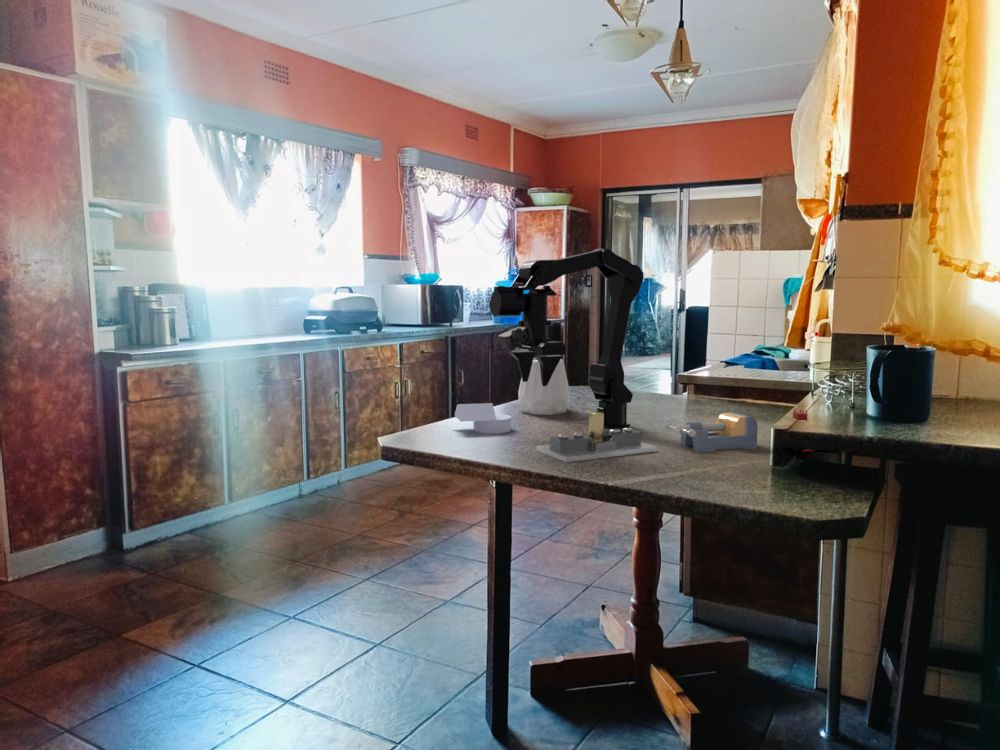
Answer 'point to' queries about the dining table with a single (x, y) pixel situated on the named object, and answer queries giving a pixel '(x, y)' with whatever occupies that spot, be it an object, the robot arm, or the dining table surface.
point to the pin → (596, 426)
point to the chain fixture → (595, 445)
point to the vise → (719, 433)
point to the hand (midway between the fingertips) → (534, 383)
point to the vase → (544, 391)
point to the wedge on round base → (483, 418)
